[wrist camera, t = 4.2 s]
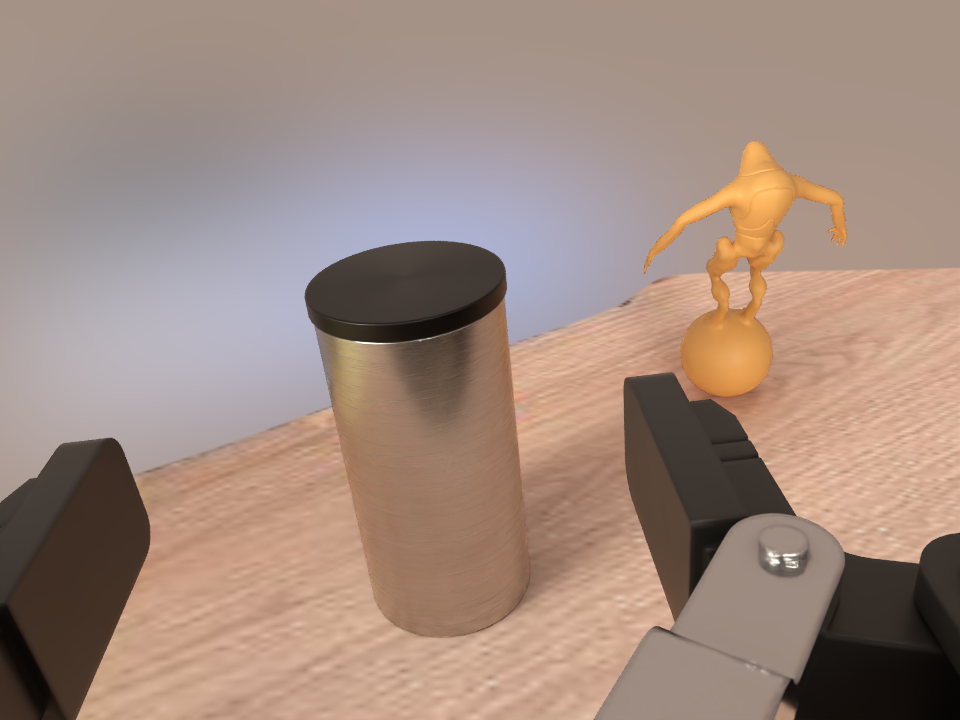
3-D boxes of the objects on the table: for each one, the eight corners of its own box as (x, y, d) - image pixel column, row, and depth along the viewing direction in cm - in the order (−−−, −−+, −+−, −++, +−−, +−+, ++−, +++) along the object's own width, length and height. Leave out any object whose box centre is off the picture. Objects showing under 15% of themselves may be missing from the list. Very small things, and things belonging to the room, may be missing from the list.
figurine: (792, 357, 40) (817, 105, 34) (854, 425, 35) (896, 142, 29) (624, 380, 40) (620, 131, 34) (661, 452, 35) (664, 171, 29)
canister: (365, 649, 27) (290, 335, 21) (375, 531, 32) (316, 252, 26) (542, 629, 27) (514, 309, 21) (524, 514, 32) (497, 231, 26)
